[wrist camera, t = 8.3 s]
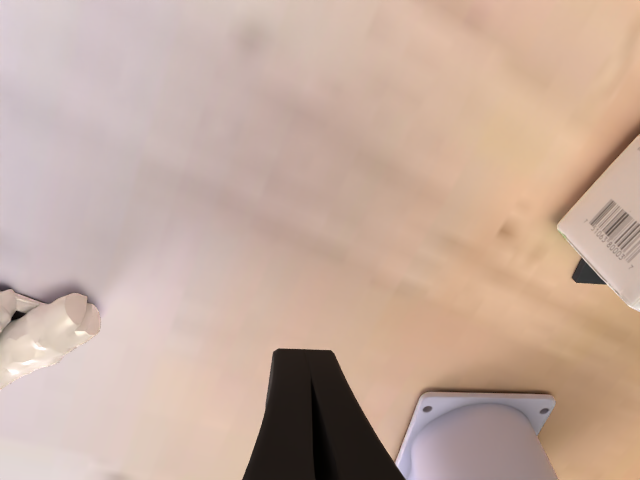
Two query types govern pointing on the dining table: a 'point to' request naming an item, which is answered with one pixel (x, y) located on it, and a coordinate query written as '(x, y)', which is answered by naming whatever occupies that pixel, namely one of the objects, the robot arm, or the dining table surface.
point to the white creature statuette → (42, 332)
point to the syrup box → (611, 225)
